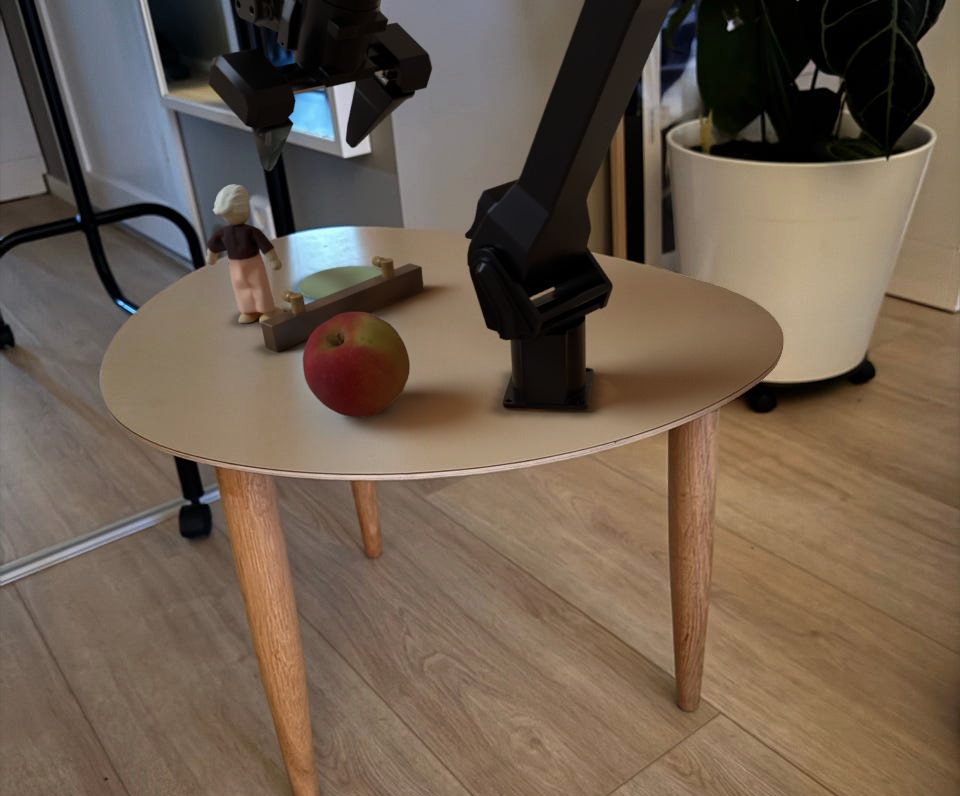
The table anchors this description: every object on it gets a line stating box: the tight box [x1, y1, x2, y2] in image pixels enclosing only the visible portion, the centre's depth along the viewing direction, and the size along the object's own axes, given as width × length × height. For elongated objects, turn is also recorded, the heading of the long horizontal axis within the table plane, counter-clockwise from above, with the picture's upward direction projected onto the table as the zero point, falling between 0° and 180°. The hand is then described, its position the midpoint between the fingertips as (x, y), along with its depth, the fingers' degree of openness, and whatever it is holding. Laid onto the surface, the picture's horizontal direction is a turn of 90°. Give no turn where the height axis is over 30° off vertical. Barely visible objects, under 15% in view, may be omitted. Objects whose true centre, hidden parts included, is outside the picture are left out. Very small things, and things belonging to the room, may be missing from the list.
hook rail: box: [260, 255, 425, 353], centre depth 92 cm, size 19×13×4 cm
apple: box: [302, 312, 411, 418], centre depth 71 cm, size 8×8×8 cm
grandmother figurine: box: [205, 183, 285, 324], centre depth 88 cm, size 8×4×13 cm, turn 84°
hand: (309, 155), depth 84 cm, fingers open, 9 cm apart
